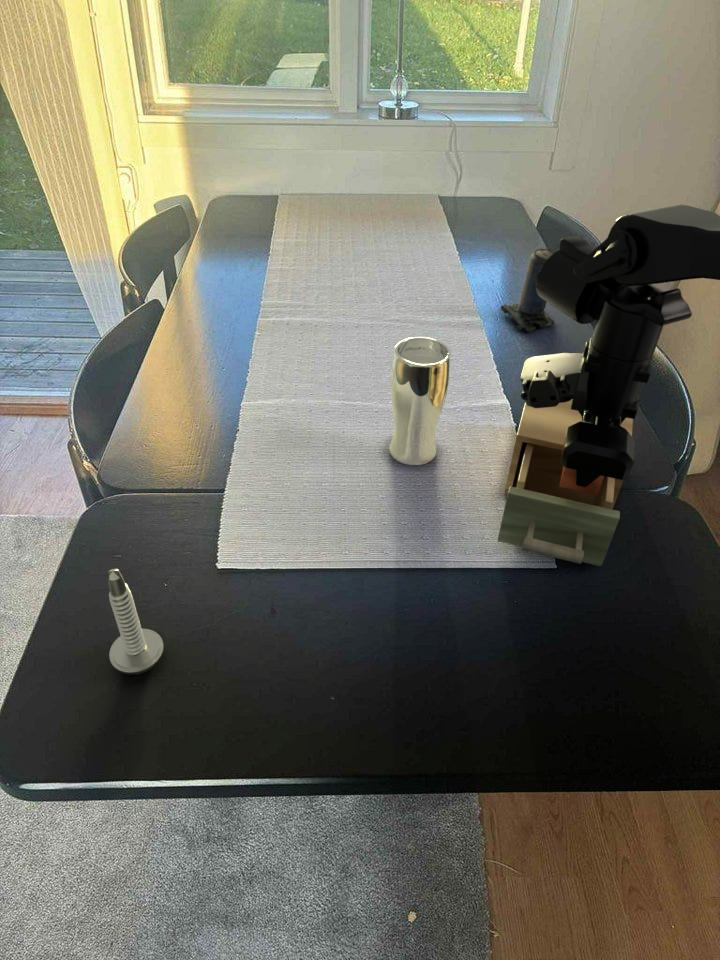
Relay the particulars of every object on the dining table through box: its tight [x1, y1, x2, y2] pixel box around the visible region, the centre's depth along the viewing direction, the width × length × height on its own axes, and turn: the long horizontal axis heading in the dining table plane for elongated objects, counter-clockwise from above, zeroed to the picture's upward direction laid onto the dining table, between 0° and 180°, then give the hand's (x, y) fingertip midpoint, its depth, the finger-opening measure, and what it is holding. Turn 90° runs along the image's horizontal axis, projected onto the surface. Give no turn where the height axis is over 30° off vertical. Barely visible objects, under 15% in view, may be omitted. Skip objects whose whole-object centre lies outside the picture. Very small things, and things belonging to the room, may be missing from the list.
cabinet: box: [503, 400, 634, 510], centre depth 87 cm, size 15×13×9 cm
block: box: [560, 466, 604, 495], centre depth 75 cm, size 4×4×4 cm
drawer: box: [497, 443, 621, 567], centre depth 78 cm, size 18×11×7 cm, turn 162°
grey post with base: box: [500, 248, 556, 333], centre depth 116 cm, size 9×8×12 cm
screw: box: [107, 568, 165, 676], centre depth 62 cm, size 13×5×5 cm
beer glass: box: [389, 336, 452, 466], centre depth 87 cm, size 7×7×15 cm
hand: (582, 472), depth 76 cm, fingers closed on block, 4 cm apart
